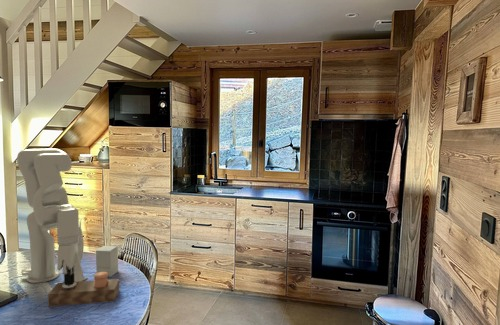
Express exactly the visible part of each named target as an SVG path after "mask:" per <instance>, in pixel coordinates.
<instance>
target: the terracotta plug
mask: <svg viewBox="0 0 500 325" xmlns="http://www.w3.org/2000/svg"><path fill="white" fill-rule="evenodd" d="M93 278H94V280H95V288H101V287H107V285H108V280H109V279H108V272H98V273H97V272H96V273H95V274H94V275H93Z"/></svg>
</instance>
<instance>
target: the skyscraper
mask: <svg viewBox="0 0 500 325" xmlns="http://www.w3.org/2000/svg"><path fill="white" fill-rule="evenodd" d="M84 242H85V241H84V235H83V231H82V221H79V242H78V243H77V245H78V261H77V263H76V264H75V265H74V281H76V282H78V281H87V280H88V277H85V276H84V273H83V272H84V271H83V269H82V266H81V263H82V260H83V255H84V249H85V248H84V246H85V245H84Z"/></svg>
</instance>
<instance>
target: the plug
mask: <svg viewBox="0 0 500 325" xmlns="http://www.w3.org/2000/svg"><path fill="white" fill-rule="evenodd" d="M62 283H63V282H62ZM76 286H77V282H76V281H74V283H73V284H69V285H65V284H64V283H63V284H62V288H63V289H62V290H72V289H75V287H76Z"/></svg>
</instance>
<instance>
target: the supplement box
mask: <svg viewBox="0 0 500 325" xmlns="http://www.w3.org/2000/svg"><path fill="white" fill-rule="evenodd" d="M118 250H119V248H118V245H102V246H101V247H99V248H97V249H96V250H95V262H96V264H95V265H96V267H95V268H96V273H98V272H108V277H109V278H111V277H112V276H114V275H115V274H117V273H118V272H119V253H118V252H119V251H118Z"/></svg>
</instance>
